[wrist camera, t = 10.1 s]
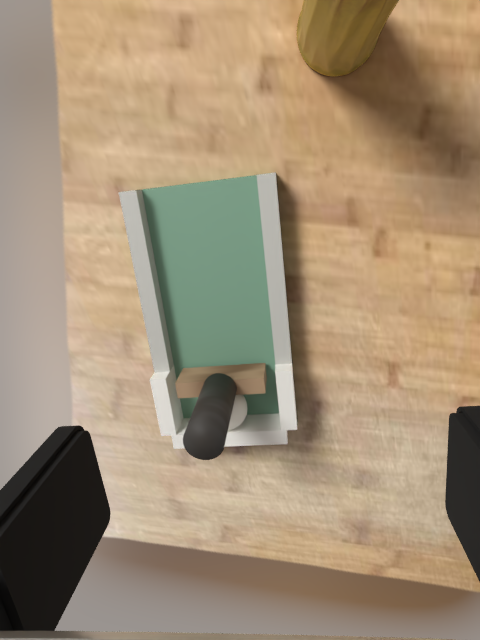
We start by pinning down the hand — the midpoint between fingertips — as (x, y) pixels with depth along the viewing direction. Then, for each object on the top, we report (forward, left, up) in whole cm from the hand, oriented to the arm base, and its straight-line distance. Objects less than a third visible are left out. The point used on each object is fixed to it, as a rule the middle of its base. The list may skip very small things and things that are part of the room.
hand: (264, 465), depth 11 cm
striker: (+6, +10, -27) cm, 29 cm away
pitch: (+6, +5, -28) cm, 29 cm away
